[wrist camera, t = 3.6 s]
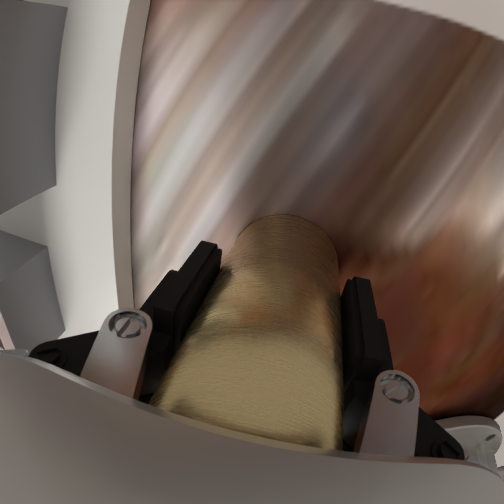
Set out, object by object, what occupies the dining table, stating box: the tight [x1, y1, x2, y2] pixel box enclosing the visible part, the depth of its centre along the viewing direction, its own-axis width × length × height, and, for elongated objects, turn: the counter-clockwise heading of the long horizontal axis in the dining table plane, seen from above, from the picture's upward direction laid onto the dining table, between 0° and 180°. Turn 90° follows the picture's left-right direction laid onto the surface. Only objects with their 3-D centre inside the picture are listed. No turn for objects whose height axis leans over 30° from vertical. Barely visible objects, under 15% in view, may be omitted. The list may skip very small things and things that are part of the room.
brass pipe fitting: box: [148, 215, 344, 451], centre depth 9 cm, size 4×4×10 cm
